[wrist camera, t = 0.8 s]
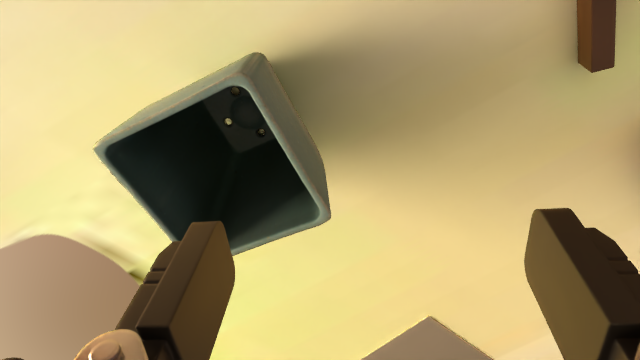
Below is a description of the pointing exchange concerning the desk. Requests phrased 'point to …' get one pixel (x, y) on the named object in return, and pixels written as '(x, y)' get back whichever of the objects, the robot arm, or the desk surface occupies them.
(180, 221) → the flower pot
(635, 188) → the desk surface
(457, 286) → the desk surface
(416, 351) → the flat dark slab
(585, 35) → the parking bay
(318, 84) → the desk surface
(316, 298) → the desk surface
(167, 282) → the robot arm
